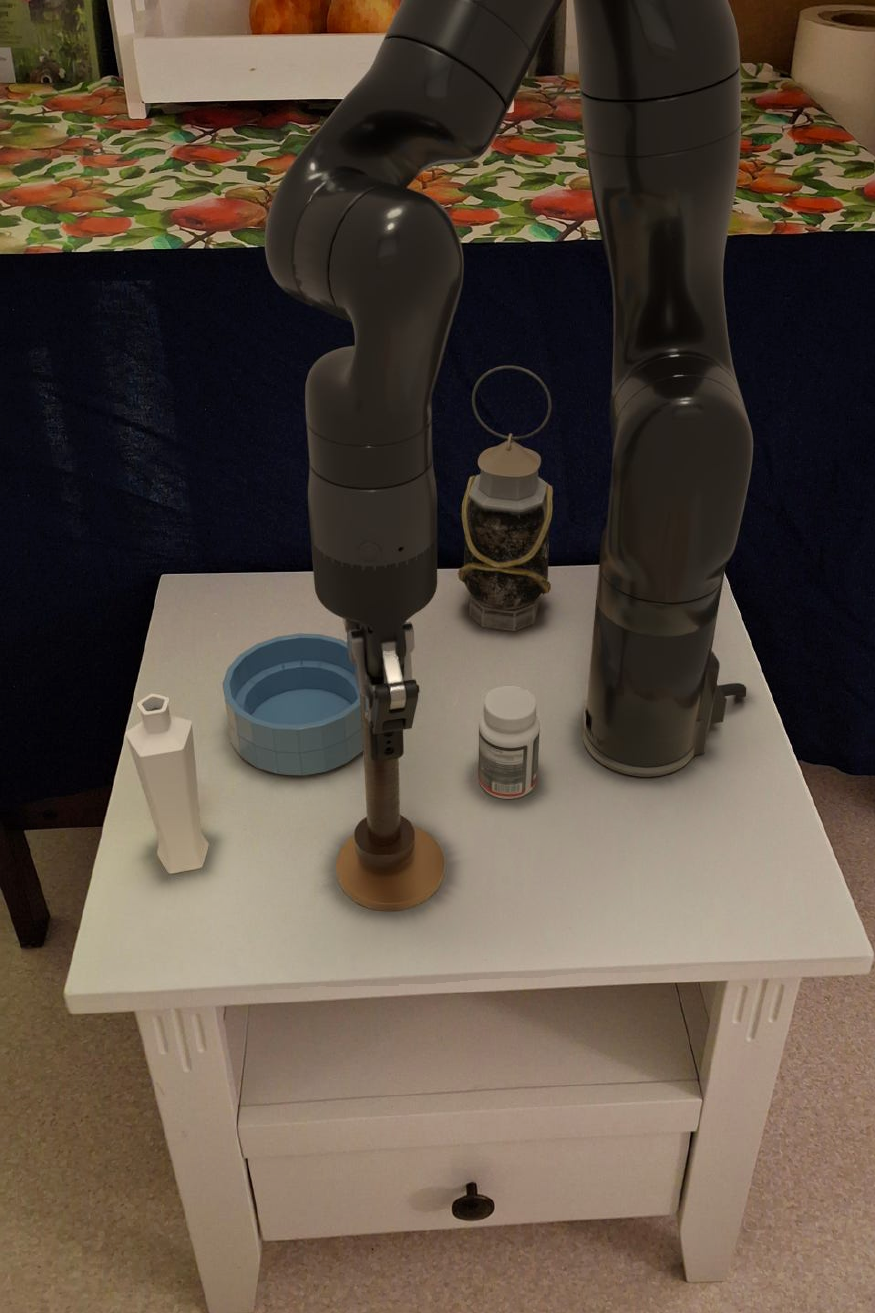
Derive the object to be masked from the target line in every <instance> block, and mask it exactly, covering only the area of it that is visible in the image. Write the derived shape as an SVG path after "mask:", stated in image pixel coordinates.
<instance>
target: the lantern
mask: <svg viewBox="0 0 875 1313" xmlns="http://www.w3.org/2000/svg"><path fill="white" fill-rule="evenodd" d="M506 369H507V370H517V371H521V372H523V373H527V374H528V375H530V376H531V377H533V378H534V379H535V380H536V381H538V383H539V384H540V386H542V388H543V390H544V392H545V394H546V398H547V404H548V407H547V413H546V416H545V418H544V420H543V422H542V423H541V425H540V426H539V427H538V428H537V429H535V430H534V431H533V432H530V433H528V434H525V435H521V436H514V435H513V433H509V434H508V435H504V434H500V433H498V432H496V431H494V430H493V429H491V428H490V427H489V426H488V425H486V424H485V423H484V421H483V420H482V419H481V417H480V415H479V413H478V411H477V407H476V393H477V390H478V387H479V386H480V384H481V382H482V381H483V380H484V379H485V378H486V377H487V376H488V375H490V374H492V373H495V372H497V371H500V370H506ZM471 394H472V395H471V406H472V410H473V413H474V416H475V417H476V419H477V422H479V423H480V425H481V426H482V427H483V428H484V429H485V430H486V431H487V432H489V433H490V434H492V435H494V436H496V437H498V438H501V439H505V441H504V442H502V443H500V444H499V445H496V446H492V447H489V448H487V449H484V450H483V451H482V452H481V453H480V454H479V457H478V459H477V466H478V467H479V469H480V474H477V475H471V476H470V477H469V479H468V482H467V486H466V489H465V492H464V496H463V499H462V504H461V521H462V527H463V532H464V553H463V556H464V557H463V566H462V567H460V568H459V570H458V573H457V575H458V580H459V581H461V582H462V583H464V585H465V588H466V590H467V591H468V593H469V594H470V595H469V598H470V602H469V616H470V617H471V618H473V620H474V621H476V622H477V623H478V625H480V626H481V627H482V628H489V629H496V630H503V631H510V632H517V631H519V630H521V629H523V628H526V627H528V626H530V625H531V626H532V625H533V624H534V623H535V621H536V618H537V614H538V611H539V607H540V596H541V595H545V594H549V593H550V591H551V589H552V588H551V587H552V585H551V583H550V581H549V579H548V578H549V554H550V553H549V552H550V524H551V520H552V517H553V494H554V493H553V492H554V490H553V485H550V484H548V482H546V481H545V480H543V479H542V478H541V477H540V476H539V471H538V470H539V469H540V466H541V463H542V457H541V456H540V454H539V453H537V451H534V450H532V449H530V448H526V447H523V446H522V445H521V444H519V443H518V442H516V441H518V440H524V439H528V438H531V437H533V436H535V435H536V434H538V433H540V431H541V430H542V429H544V427H545V426H546V424H547V423H548V421H549V419H550V416H551V413H552V398H551V394H550V392H549V390H548V387H547V385H546V384H545V383H544V381H543V380H542V379H541V378H540V377H539V376H538V375H536V373H534V372H532V371H531V370H529V369H527V368H524V367H521V366H516V365H501V366H496V367H494V368H492V369H489V370H487V372H485V373H484V374H482V375H481V377H479V379H478V380H477V381H476V383H475V385H474V387H473V390H472V392H471Z"/></svg>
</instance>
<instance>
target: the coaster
mask: <svg viewBox="0 0 875 1313" xmlns="http://www.w3.org/2000/svg"><path fill="white" fill-rule="evenodd" d="M413 828H414V831H415V847H414V851H413V852H412V854H411V856H410V857H409V858H408V859H407V860H405V861H404V862H402V863H400V864H398V865H395V866H391V867H377V866H373V865H370V864H368V863H366V862H364V861H363V860H362V859H361V858H360V857H359V856H358V855H357V853H356V850H355V842H354V834H353V835H352V836H350V838H349V839H347V840H346V842H344V843H343V845H342V847H341V848H340V850H339V851H338V852H339V853H338V855H337V859H336V867H335V868H336V876H337V881H338V884H339V886H340V888H341V889H342V891H343V892H344V893H345V894H346V896H348V897H349V898H350V899H351V900H352V901H354V902H355V903H357V904H358V905H360V906H362V907H365V908H368V909H371V910H374V911H380V912H381V911H382V912H397V911H403V910H406V909H410V908H414V907H416V906H418V905H419V904H422V903H423V902H425V901H427V900H428V899H429V898H430V897H432V896H433V895H434V894H435V892H436V891H438V889H439V887H440V886H441V884H442V882H443V880H444V876H445V869H446V867H445V866H446V865H445V855H444V851H443V849H442V848H441V846H440V844H439V843H438V841H437V840H436V839H435V838H434V837H433V835H431V834H430V833H428V832H427V831H425V830H423V829H421V828H419V827H416V826H414V825H413Z"/></svg>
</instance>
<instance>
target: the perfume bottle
mask: <svg viewBox="0 0 875 1313" xmlns="http://www.w3.org/2000/svg"><path fill="white" fill-rule="evenodd" d="M169 703H170V698H169V697H167V696H164V695H161V694H157V693H151V694H148V695H147V696H145V697H144V698H143V699H142V698H141V700H140V701H138V702H137V703H136V706H137V707H138V709H139V710H140V715H141V719H142V720H141V721H139V723H137V724H135V725H134V726H132V727H131V728H130V729H128V730H126V731H125V733H124V734H125V738H126V740H127V744H128V748H129V750H130V753H131V756H132V760H133V763H134V765H135V769H136V772H137V775H138V778H139V781H140V784H141V787H142V788H141V789H142V790H143V794H144V797H145V801H146V803H147V807H148V809H149V812H150V816H151V819H152V822H153V825H154V829H155V832H156V834H157V838H158V844H157V845H158V846H157V851H156V855H157V857H158V859H159V860H160V862H161V864H162V865H163V867H164V868H165V870H166V872H167V873H168V874H177V873H183V872H188V871H192V870H199V869H201V868H203V866H204V864H205V860H206V856H207V853H208V851H209V850H208V849H209V847H210V844H209V842H208V840H207V838H206V837H205V835H204V834H203V831H202V824H201V813H200V800H199V790H198V787H199V786H198V777H197V765H196V754H195V752H196V751H195V742H194V740H195V739H194V730H193V729H194V728H193V721H192V720H189V719H186V718H183V717H179V716H175V715H172V714H171V713H170V707H169Z"/></svg>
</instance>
